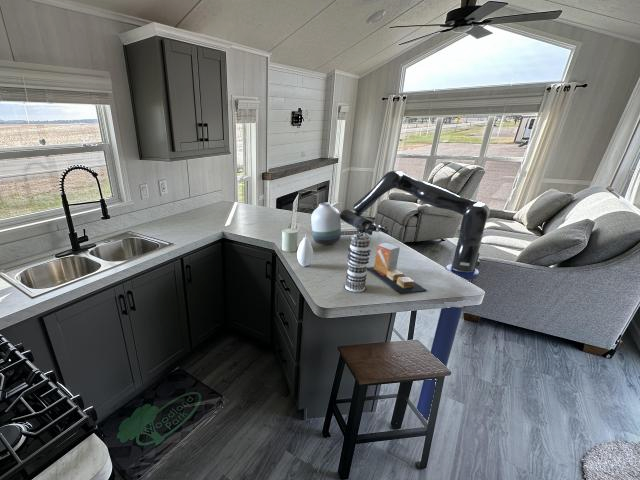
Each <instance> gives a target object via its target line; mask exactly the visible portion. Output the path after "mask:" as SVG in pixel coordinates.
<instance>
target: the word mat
mask: <svg viewBox="0 0 640 480" xmlns="http://www.w3.org/2000/svg"><path fill="white" fill-rule="evenodd" d="M366 270H368V271H369V272H371V273H372V274H374V275H375V276H376V277H377V278H379V279H380V280H381V281H383V282H384V283H386V284H387V285H388V286H390V287H391V288H392V289H393V290H394V291H396V292H398V293H399V294H400V295H403V294H412V293H420V292H421V293H422V292H427V290H426V289H425V288H424V287H422V286H421V285H420V284H418V283H416V282H415V283H414V287H411V288H402V287H401V286H399V285H398V284H397V280H395V281H392V280H391V279H390V278H388V277H387V275H386V274H384V273H382V272H380V271H378V270H375V269H374V266H371V267H366ZM403 277H407V276H405V275H404V274H403Z"/></svg>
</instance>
